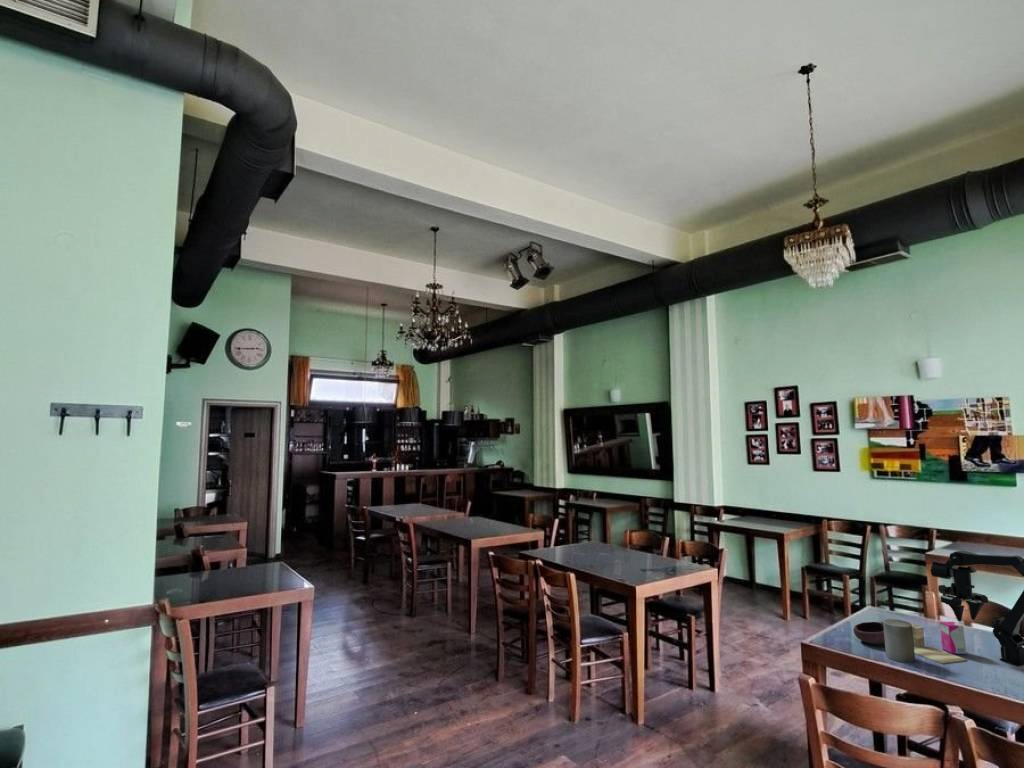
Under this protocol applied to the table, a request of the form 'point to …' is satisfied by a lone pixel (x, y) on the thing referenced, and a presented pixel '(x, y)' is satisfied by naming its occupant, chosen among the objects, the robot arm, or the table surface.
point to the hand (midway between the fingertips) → (966, 620)
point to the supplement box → (953, 638)
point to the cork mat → (937, 655)
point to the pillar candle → (899, 640)
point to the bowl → (870, 632)
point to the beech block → (918, 636)
